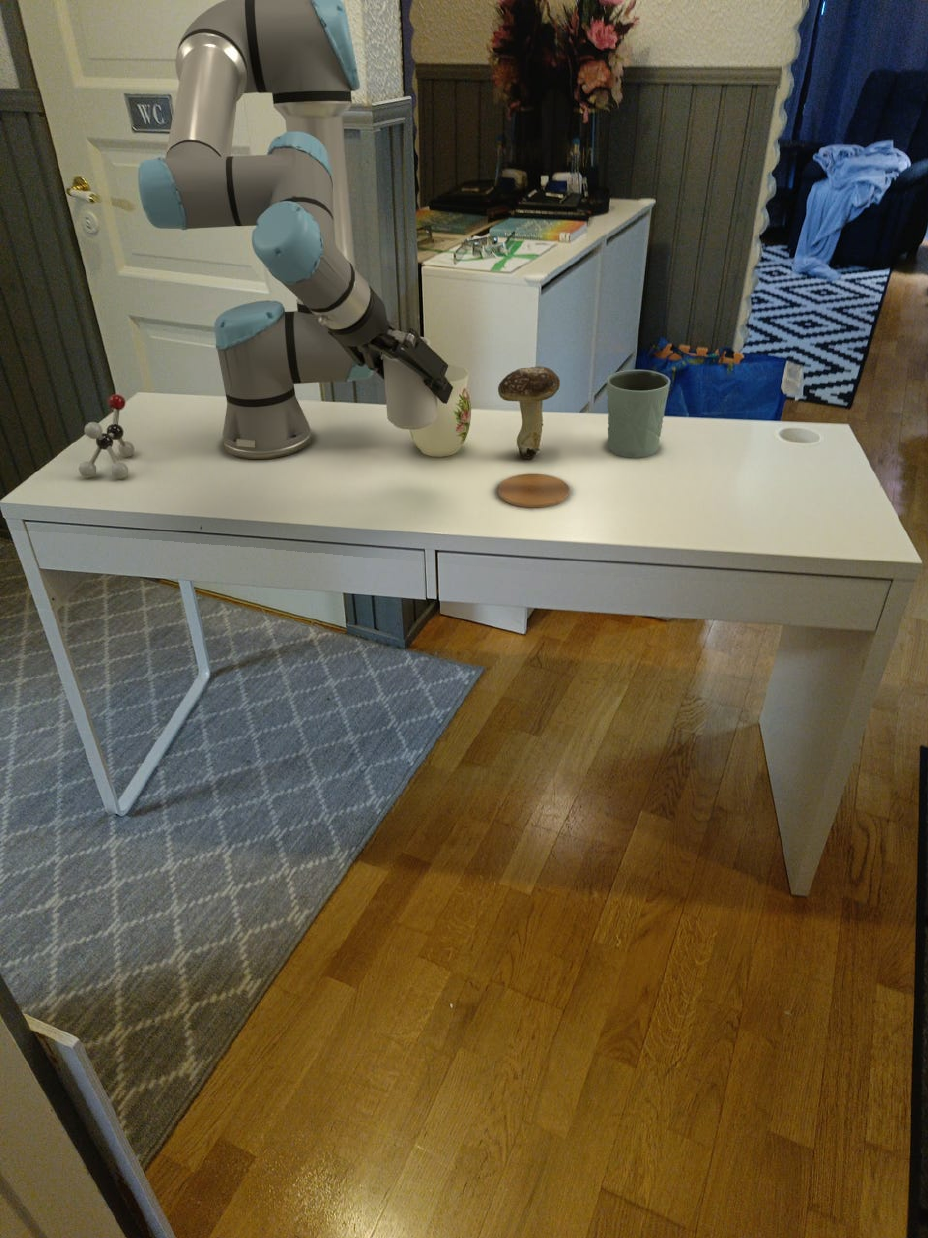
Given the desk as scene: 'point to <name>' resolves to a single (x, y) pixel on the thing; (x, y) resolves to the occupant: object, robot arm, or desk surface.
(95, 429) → the molecular model
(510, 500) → the coaster
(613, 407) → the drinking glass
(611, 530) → the desk surface
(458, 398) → the pitcher
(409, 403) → the can
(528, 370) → the mushroom
